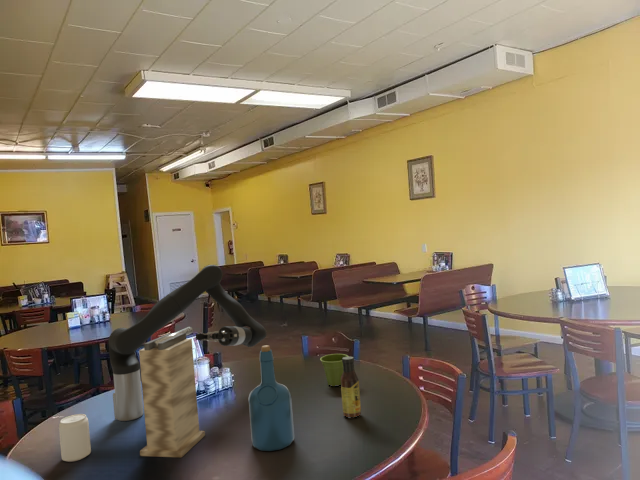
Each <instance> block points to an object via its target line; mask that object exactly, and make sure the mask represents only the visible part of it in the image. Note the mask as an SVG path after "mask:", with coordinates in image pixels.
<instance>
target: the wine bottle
mask: <svg viewBox="0 0 640 480" xmlns="http://www.w3.org/2000/svg"><path fill="white" fill-rule="evenodd" d="M272 350H273V349H271V346H270V345H267V344H266V345H262V346H261V350H260V351H259V363H260V376H261V377H260V379H261V382H260V383H259V384H258V385H257V386H256V387H255V388H253V389H252V390H251V391H250V392H249V395H248V410H249V421H250V423H249V425H250V433H251V434H250V435H251V436H250V437H251V442H252V446H253V448H255V449H257V450H259V451H265V452H272V451H278V450H282V449H285V448H287V447H289V446H290V445H292V443H293V441H294V440H295V428H294V427H295V426H294V414H293V401H292V395H291V392H290V390H289V389H288V387H287V386H286V385H284V384H282V383H279V382H277V380H276V375H275V374H276V372H275V365H274V361H275V359H274V355H273V351H272Z"/></svg>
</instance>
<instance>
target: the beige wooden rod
mask: <svg viewBox="0 0 640 480" xmlns="http://www.w3.org/2000/svg"><path fill="white" fill-rule="evenodd" d="M193 332H194V329H193V327H192V326H187V327H185V328H183V329H181V330H178V331H175V332H172V333H173V334H171V335H168V336H166V337H164V338H161V339H159V340H157V341H155V342H154V347H155V348H158V343H160V342H162V341H165V340H167V339H169V338H171V337H174V336H176V335H178V334H180V333H186V336H188V335H190V334H192V333H193Z"/></svg>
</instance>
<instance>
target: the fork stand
mask: <svg viewBox="0 0 640 480" xmlns="http://www.w3.org/2000/svg"><path fill="white" fill-rule="evenodd" d="M173 333H174V332H170V333H167V334H164V335H161V336H160V337H157V338H154V339H152V340H149V341H147V342H144V343H143V348H142V349H141V348H140V349H138V354H139V356H138V357H139V367H140V379H141V390H142V402H143V416H144V424H145V437H146V445H145V446H144V447H143V448H141V449H140V450H139V456H140V457H157V458H158V457H161V458H162V457H163V458H183V457H184V456H185V455H186V454H187V453H188V452H190V450H191V449H192V448H193V447H194V446H196V444H198V443H199V442H200V441H201V440H202V439H203V438H204V437H205V436H206V431H205V430H200V423H199V421H200V420H199V409H198V400H197V387H196V375H195V364H194V363H195V362H194V353H193V352H194V351H193V350H194V349H193V340H192V339H193V338H187V335H186V333H180V334H178V335H176V336H174V337H171V338H169V339H167V340H165V341H162V342H160V343H158V348H155V347H154V342H155V341H157V340H159V339H161V338H164V337H166V336H168V335H171V334H173Z"/></svg>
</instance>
